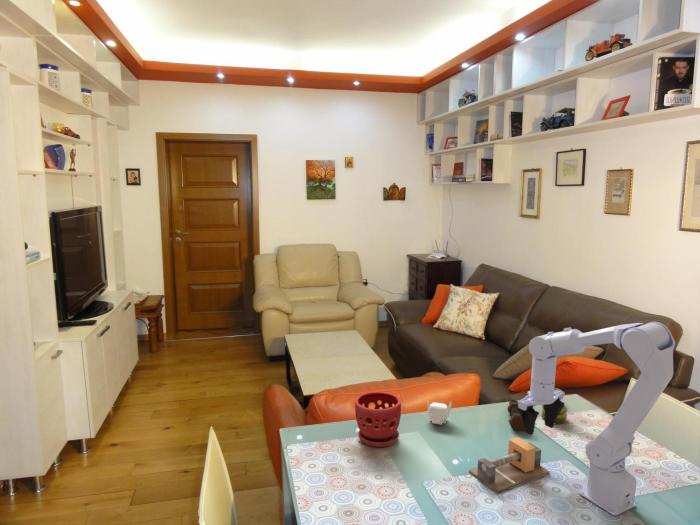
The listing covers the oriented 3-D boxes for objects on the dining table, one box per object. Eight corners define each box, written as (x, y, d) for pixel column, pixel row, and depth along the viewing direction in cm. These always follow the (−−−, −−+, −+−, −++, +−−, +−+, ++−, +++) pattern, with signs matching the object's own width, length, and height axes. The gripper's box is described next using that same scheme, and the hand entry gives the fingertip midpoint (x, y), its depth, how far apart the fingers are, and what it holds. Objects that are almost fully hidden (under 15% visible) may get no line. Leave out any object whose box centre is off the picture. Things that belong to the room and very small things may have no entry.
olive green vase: (536, 415, 161) (538, 385, 159) (555, 412, 163) (558, 383, 161) (551, 426, 154) (554, 395, 152) (571, 422, 156) (574, 392, 154)
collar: (533, 469, 128) (535, 447, 127) (525, 472, 127) (527, 450, 126) (515, 458, 134) (517, 437, 133) (507, 460, 132) (509, 439, 131)
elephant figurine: (423, 427, 151) (424, 405, 150) (427, 413, 161) (428, 392, 159) (448, 431, 149) (450, 409, 148) (452, 417, 158) (453, 395, 157)
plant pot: (400, 429, 150) (401, 391, 148) (400, 452, 137) (401, 411, 135) (356, 426, 151) (357, 388, 150) (352, 449, 139) (353, 408, 137)
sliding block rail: (549, 473, 128) (551, 455, 128) (497, 493, 120) (498, 474, 119) (519, 454, 137) (520, 437, 136) (468, 472, 129) (469, 454, 128)
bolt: (515, 415, 165) (521, 436, 150) (502, 406, 165) (506, 426, 151) (526, 401, 163) (532, 421, 149) (512, 392, 164) (517, 411, 149)
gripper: (549, 370, 137) (545, 417, 139) (510, 379, 130) (507, 429, 132) (571, 379, 131) (567, 428, 133) (532, 389, 124) (528, 441, 126)
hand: (538, 429), depth 132 cm, fingers open, 7 cm apart
